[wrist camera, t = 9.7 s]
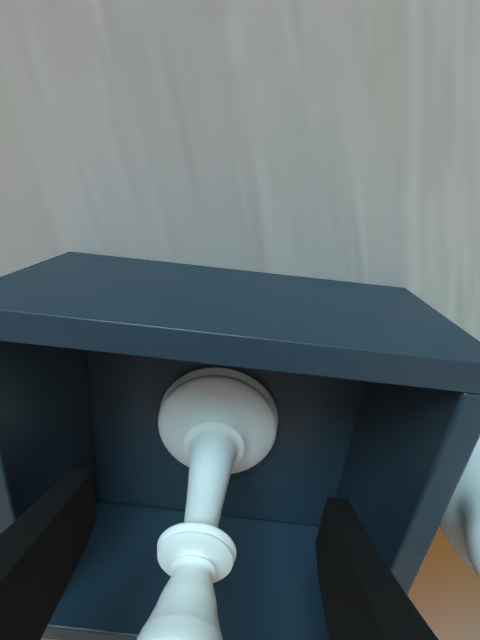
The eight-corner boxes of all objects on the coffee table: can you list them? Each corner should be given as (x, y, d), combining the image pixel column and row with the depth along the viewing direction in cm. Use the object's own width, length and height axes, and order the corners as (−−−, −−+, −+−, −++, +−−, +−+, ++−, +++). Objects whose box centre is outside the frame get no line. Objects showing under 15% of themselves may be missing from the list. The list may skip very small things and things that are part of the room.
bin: (336, 524, 17) (371, 677, 12) (91, 496, 18) (16, 636, 12) (405, 287, 13) (514, 365, 7) (69, 251, 13) (-68, 301, 7)
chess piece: (166, 463, 15) (29, 890, 6) (153, 366, 14) (-74, 768, 4) (277, 464, 15) (308, 914, 6) (278, 366, 13) (327, 794, 4)
